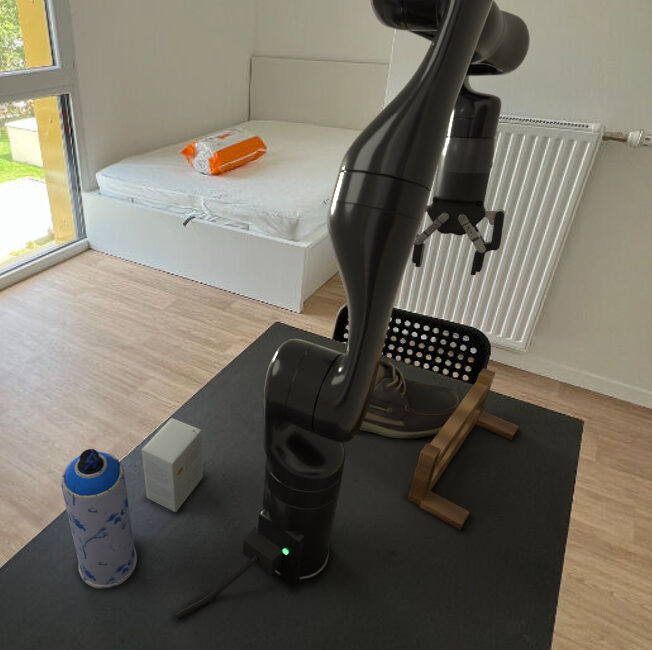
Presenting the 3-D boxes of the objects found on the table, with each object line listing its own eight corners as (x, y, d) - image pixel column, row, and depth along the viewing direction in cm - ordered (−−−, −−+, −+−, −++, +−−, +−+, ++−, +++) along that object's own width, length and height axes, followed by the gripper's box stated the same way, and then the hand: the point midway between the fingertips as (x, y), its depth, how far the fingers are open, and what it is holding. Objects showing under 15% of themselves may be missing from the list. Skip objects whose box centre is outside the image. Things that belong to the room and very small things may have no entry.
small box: (174, 464, 87) (171, 416, 82) (203, 478, 85) (202, 428, 79) (145, 498, 81) (139, 448, 76) (175, 514, 79) (172, 463, 73)
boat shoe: (468, 441, 91) (485, 392, 85) (297, 440, 92) (302, 391, 86) (445, 400, 100) (459, 353, 95) (290, 399, 101) (294, 352, 95)
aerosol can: (94, 531, 76) (74, 426, 66) (145, 543, 75) (133, 438, 64) (67, 580, 70) (41, 473, 59) (123, 595, 68) (105, 488, 58)
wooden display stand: (460, 530, 76) (478, 481, 71) (406, 500, 81) (419, 452, 75) (516, 431, 93) (534, 386, 88) (469, 411, 98) (484, 367, 92)
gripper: (410, 167, 82) (395, 269, 88) (514, 173, 76) (491, 282, 82) (420, 164, 88) (405, 259, 94) (517, 169, 82) (495, 271, 88)
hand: (445, 270), depth 88 cm, fingers open, 8 cm apart
